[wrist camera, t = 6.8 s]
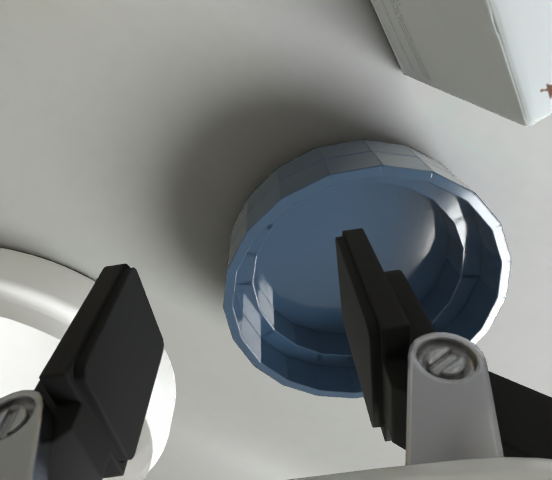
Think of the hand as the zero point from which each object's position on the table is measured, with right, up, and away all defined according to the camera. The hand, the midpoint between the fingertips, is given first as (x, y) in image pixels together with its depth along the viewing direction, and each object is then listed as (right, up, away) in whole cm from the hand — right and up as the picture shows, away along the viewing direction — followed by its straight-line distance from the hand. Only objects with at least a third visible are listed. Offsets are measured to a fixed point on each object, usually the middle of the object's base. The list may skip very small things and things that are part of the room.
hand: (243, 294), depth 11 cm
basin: (+6, 0, +18) cm, 19 cm away
